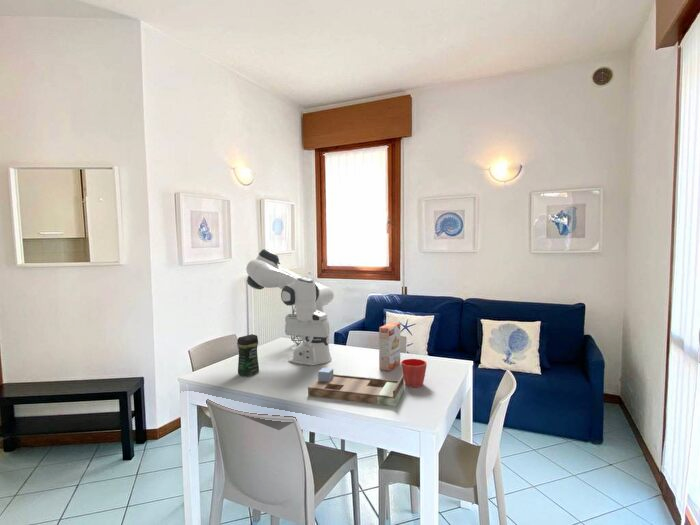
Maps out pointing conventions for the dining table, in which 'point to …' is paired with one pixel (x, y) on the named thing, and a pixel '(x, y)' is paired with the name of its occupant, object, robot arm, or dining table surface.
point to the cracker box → (389, 346)
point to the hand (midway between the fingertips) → (307, 346)
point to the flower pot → (413, 372)
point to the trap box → (359, 389)
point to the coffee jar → (248, 355)
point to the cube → (325, 374)
